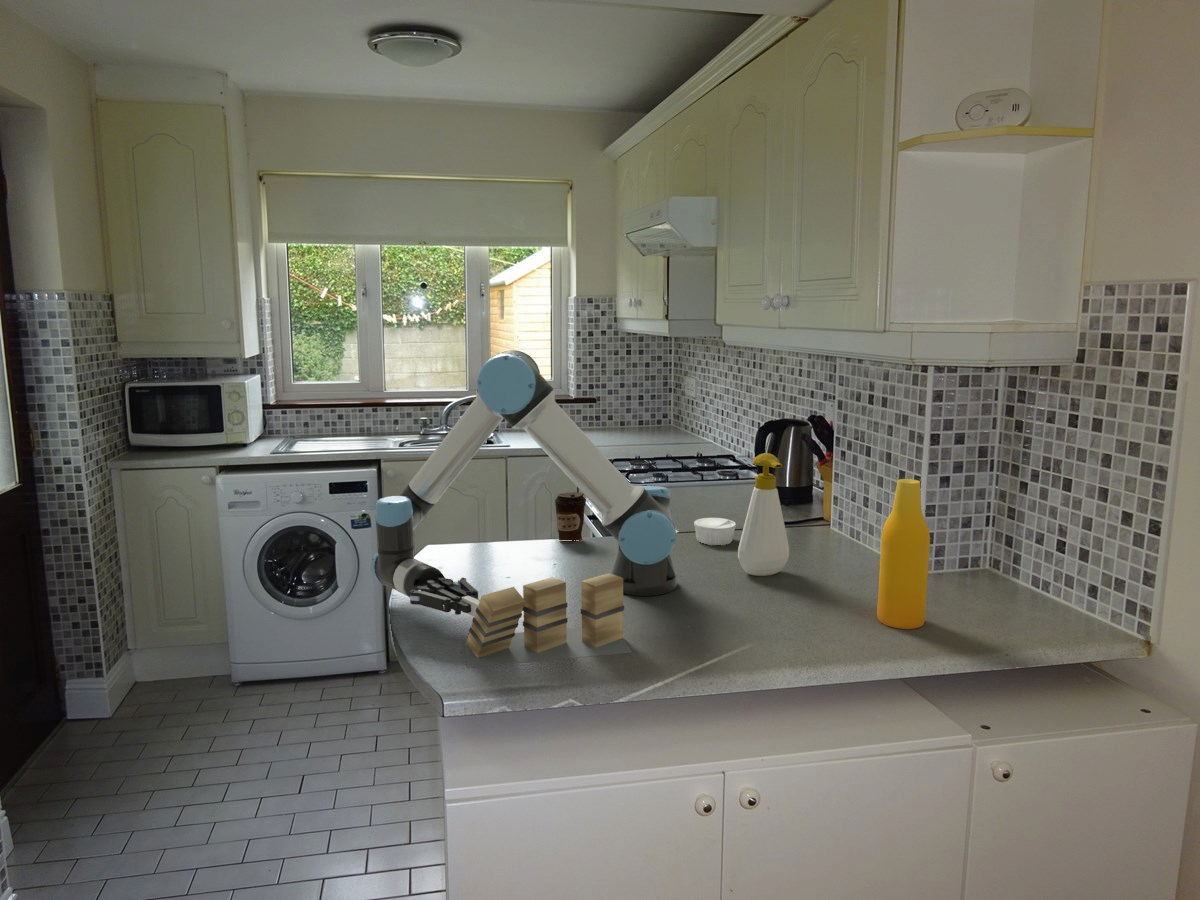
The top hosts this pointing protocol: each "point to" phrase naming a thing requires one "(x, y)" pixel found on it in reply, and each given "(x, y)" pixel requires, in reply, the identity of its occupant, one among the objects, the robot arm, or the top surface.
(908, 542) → the beer bottle
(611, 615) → the banded wooden block
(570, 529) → the coffee cup
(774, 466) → the soap bottle
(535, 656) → the mat
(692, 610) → the top surface
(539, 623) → the wooden block
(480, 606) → the striped wooden block
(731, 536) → the ramekin
